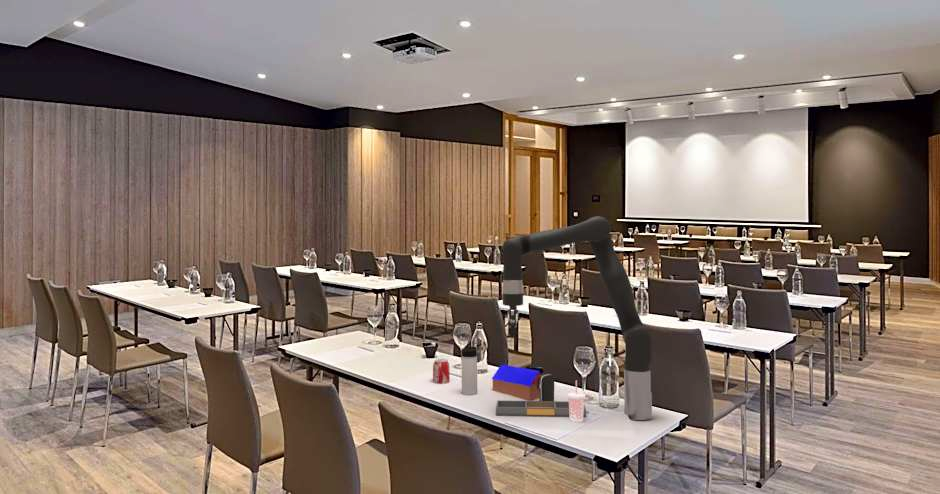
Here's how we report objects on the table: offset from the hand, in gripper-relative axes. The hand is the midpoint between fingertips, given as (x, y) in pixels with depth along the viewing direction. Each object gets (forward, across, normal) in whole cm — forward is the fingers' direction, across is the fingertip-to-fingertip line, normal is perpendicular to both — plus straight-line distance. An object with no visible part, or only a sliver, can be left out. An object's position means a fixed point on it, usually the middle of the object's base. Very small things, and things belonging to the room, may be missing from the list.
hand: (513, 336), depth 240 cm
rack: (+28, -2, -10) cm, 29 cm away
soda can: (+28, +35, +32) cm, 55 cm away
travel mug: (+28, +20, +18) cm, 39 cm away
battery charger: (+28, +11, -12) cm, 32 cm away
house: (+28, +24, -2) cm, 37 cm away
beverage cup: (+28, -11, -22) cm, 37 cm away
